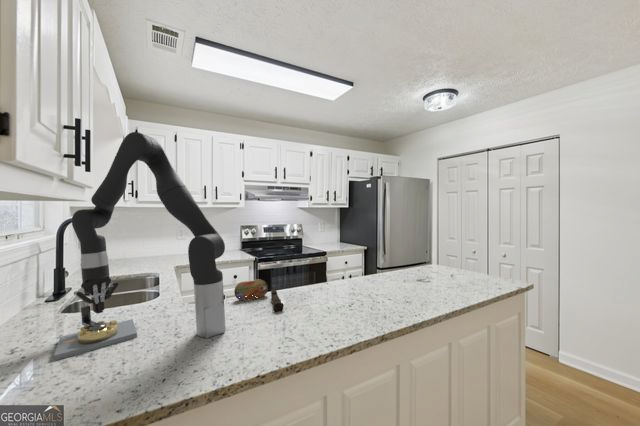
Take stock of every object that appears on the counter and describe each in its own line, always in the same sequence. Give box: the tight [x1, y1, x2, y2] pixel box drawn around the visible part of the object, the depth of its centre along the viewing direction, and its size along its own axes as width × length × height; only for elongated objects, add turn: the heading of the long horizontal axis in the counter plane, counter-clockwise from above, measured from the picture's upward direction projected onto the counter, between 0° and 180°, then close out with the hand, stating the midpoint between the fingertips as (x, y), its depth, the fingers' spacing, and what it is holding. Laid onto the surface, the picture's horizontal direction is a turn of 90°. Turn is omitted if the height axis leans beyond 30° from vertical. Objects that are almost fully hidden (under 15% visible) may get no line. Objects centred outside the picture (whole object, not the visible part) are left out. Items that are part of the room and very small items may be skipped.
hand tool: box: [270, 288, 284, 313], centre depth 116 cm, size 19×4×5 cm, turn 14°
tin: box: [233, 278, 269, 302], centre depth 126 cm, size 15×3×8 cm, turn 114°
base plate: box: [53, 319, 138, 361], centre depth 91 cm, size 16×20×2 cm
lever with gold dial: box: [76, 305, 118, 344], centre depth 91 cm, size 15×10×8 cm, turn 59°
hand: (99, 312), depth 97 cm, fingers closed
